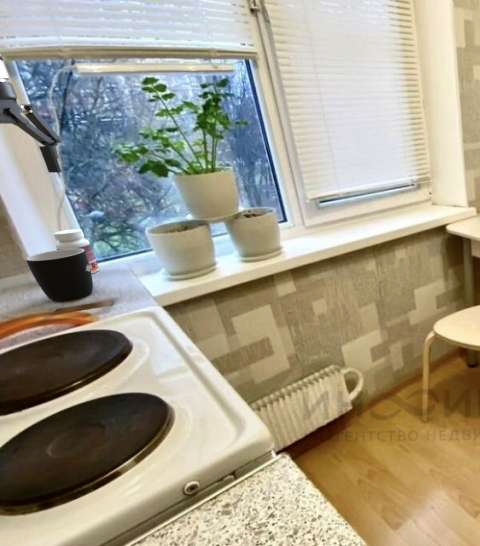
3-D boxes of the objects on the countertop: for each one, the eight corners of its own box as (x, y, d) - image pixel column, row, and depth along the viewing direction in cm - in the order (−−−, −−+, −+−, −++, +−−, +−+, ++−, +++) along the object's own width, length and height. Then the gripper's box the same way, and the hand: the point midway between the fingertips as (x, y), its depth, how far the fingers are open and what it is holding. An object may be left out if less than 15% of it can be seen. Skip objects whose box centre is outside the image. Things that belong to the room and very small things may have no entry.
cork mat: (42, 326, 81) (41, 323, 81) (57, 311, 87) (56, 308, 87) (103, 315, 85) (102, 313, 85) (114, 302, 92) (113, 299, 91)
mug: (104, 295, 95) (88, 252, 92) (47, 308, 89) (28, 263, 85) (91, 284, 102) (77, 244, 99) (38, 295, 95) (20, 253, 92)
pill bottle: (104, 268, 113) (89, 227, 110) (92, 275, 108) (76, 232, 104) (75, 271, 111) (59, 229, 108) (61, 278, 106) (44, 235, 102)
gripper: (-76, 74, 83) (-29, 182, 90) (61, 84, 106) (90, 170, 114) (-109, 74, 84) (-59, 182, 91) (35, 85, 107) (65, 170, 114)
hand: (24, 175), depth 102 cm, fingers open, 13 cm apart
